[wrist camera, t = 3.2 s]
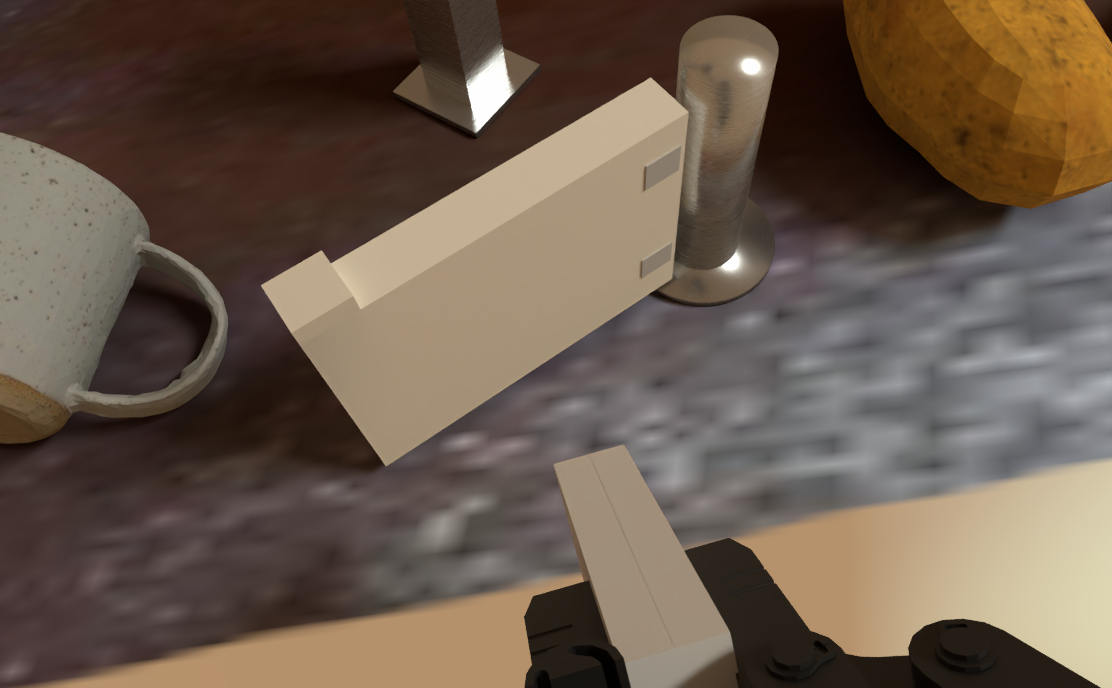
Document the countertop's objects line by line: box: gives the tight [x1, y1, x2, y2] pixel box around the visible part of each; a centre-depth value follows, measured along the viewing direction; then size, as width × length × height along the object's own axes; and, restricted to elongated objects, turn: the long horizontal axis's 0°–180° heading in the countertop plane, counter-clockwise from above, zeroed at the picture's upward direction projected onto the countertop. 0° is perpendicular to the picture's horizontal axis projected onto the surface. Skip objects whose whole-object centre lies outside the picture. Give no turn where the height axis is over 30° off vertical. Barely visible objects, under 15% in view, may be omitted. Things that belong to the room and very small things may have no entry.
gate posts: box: [393, 0, 779, 306], centre depth 27 cm, size 18×5×12 cm, turn 46°
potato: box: [843, 0, 1112, 209], centre depth 29 cm, size 8×14×7 cm, turn 9°
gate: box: [261, 78, 689, 466], centre depth 24 cm, size 12×2×9 cm, turn 125°
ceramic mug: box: [0, 133, 228, 444], centre depth 26 cm, size 11×8×8 cm
